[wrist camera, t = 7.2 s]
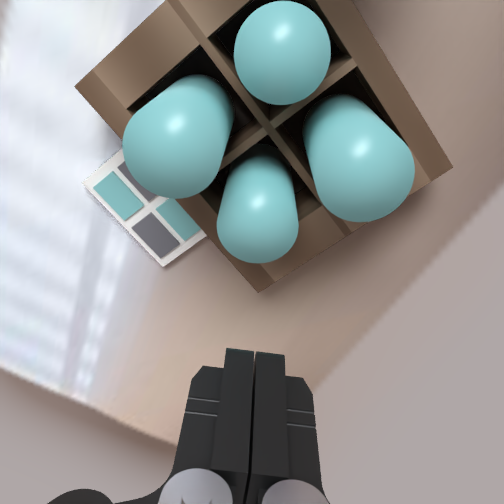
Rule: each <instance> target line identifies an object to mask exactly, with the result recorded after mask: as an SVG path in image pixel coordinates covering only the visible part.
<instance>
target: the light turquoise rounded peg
mask: <svg viewBox="0 0 504 504" xmlns="http://www.w3.org/2000/svg"><path fill="white" fill-rule="evenodd" d="M298 229H299V224H298V216H297V209H296V202H295V195H294V188H293V181H292V174H291V167H290V164H289V162H288V160H287V159H286V157H285V156H284V155H283V153H282V152H281V151H280V150H278V149H277V148H275V147H273V146H270V145H266V144H254V145H253V146H251V147H250V148H249V149H247V150H246V151H245V152H244V153H242V154H241V155H240V156H238V157H237V158H236V159H234V160H233V161H232V162H231V165H230V169H229V173H228V177H227V181H226V185H225V189H224V193H223V197H222V202H221V206H220V210H219V214H218V218H217V233H218V237H219V239H220V241H221V243H222V245H223V246H224V248H225V249H226V250H227V251H228V252H229V253H230V254H231V255H233V256H234V257H236V258H238V259H240V260H242V261H245V262H249V263H267V262H271V261H274V260H276V259H278V258H280V257H282V256H283V255H284V254H286V253H287V252H288V251H289V250H290V248H291V247H292V246H293V244H294V243H295V240H296V238H297V235H298Z"/></svg>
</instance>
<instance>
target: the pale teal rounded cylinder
mask: <svg viewBox="0 0 504 504" xmlns="http://www.w3.org/2000/svg"><path fill="white" fill-rule="evenodd" d="M234 116H235V110H234V104H233V100H232V98H231V96H230V94H229V92H228V90H227V89H226V88H225V87H224V86H223V85H222V84H221V83H220V82H219V81H217V80H216V79H214V78H212V77H210V76H207V75H202V74H191V75H187V76H184V77H182V78H180V79H178V80H177V81H176V82H174V83H173V84H172V85H171V86H169V87H168V88H167V89H165V90H164V91H163V92H162V93H160V94H159V95H158V96H156V97H155V98H154V99H153V100H151V101H150V102H149V103H147V104H146V105H145V106H144V107H142V108H141V109H140V110H139V111H137V112H136V113H135V114H134V115H133V116H132V118H131V119H130V121H129V122H128V124H127V126H126V128H125V131H124V135H123V142H122V149H123V156H124V160H125V163H126V165H127V167H128V170H129V171H130V173H131V174H132V176H133V177H134V178H135V180H136V181H137V182H138V183H139V184H140V185H141V186H143V187H144V188H145V189H147V190H148V191H150V192H152V193H154V194H156V195H159V196H162V197H166V198H173V199H179V198H187V197H190V196H193V195H196V194H198V193H200V192H201V191H203V190H204V189H205V188H207V187H208V186H209V185H210V184H211V182H212V181H213V180H214V178H215V177H216V175H217V173H218V171H219V168H220V164H221V161H222V158H223V155H224V151H225V148H226V145H227V142H228V138H229V135H230V132H231V129H232V125H233V122H234Z"/></svg>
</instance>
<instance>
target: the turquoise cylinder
mask: <svg viewBox="0 0 504 504" xmlns="http://www.w3.org/2000/svg"><path fill="white" fill-rule="evenodd" d="M302 136H303V141H304V145H305V149H306V153H307V156H308V160H309V164H310V167H311V171H312V175H313V179H314V182H315V186H316V190H317V193H318V196H319V198H320V200H321V202H322V203H323V205H324V206H325V207H326V208H327V209H328V210H329V211H330V212H331V213H332V214H334V215H336V216H337V217H339V218H341V219H344V220H347V221H352V222H369V221H374V220H377V219H380V218H382V217H384V216H386V215H388V214H390V213H391V212H393V211H394V210H395V209H396V208H397V207H399V206H400V205H401V203H402V202H403V201H404V200H405V198H406V197H407V195H408V194H409V192H410V190H411V187H412V184H413V181H414V174H415V166H414V160H413V157H412V154H411V152H410V150H409V148H408V146H407V145H406V144H405V142H404V141H403V140H402V139H400V138H399V137H398V136H397V135H396V134H395V133H394V132H393V131H392V130H391V129H390V128H389V127H388V126H387V125H386V124H385V123H384V122H383V121H382V120H381V119H380V118H379V117H378V116H377V115H376V114H375V113H374V112H373V111H372V110H371V109H370V108H369V107H368V106H367V105H366V104H365V103H364V102H363V101H361V100H360V99H358V98H357V97H355V96H352V95H348V94H333V95H329V96H326V97H324V98H322V99H321V100H319V101H318V102H317V103H315V104H314V105H313V106H312V108H311V109H310V110H309V112H308V113H307V115H306V117H305V120H304V123H303V129H302Z"/></svg>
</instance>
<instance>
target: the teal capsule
mask: <svg viewBox="0 0 504 504" xmlns="http://www.w3.org/2000/svg"><path fill="white" fill-rule="evenodd" d="M330 56H331V47H330V40H329V36H328V33H327V30H326V28H325V26H324V24H323V23H322V21H321V20H320V19H319V17H318V16H317V15H316V14H315V13H314V12H313V11H311V10H310V9H309V8H307V7H305V6H304V5H302V4H299V3H296V2H292V1H275V2H271V3H268V4H266V5H263V6H261V7H260V8H258V9H257V10H255V11H254V12H253V13H252V14H251V15H250V16H249V17H248V18H247V19H246V20H245V21H244V23H243V24H242V26H241V28H240V30H239V32H238V34H237V38H236V41H235V47H234V62H235V67H236V71H237V74H238V76H239V78H240V80H241V82H242V83H243V85H244V86H245V88H246V89H247V90H248V91H249V92H250V93H251V94H252V95H253V96H255V97H256V98H258V99H260V100H262V101H264V102H267V103H270V104H275V105H288V104H292V103H296V102H298V101H301V100H303V99H305V98H306V97H308V96H309V95H310V94H312V93H313V92H314V91H315V90H316V89H317V88H318V86H319V85H320V84H321V82H322V81H323V79H324V77H325V75H326V73H327V70H328V67H329V63H330Z"/></svg>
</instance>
